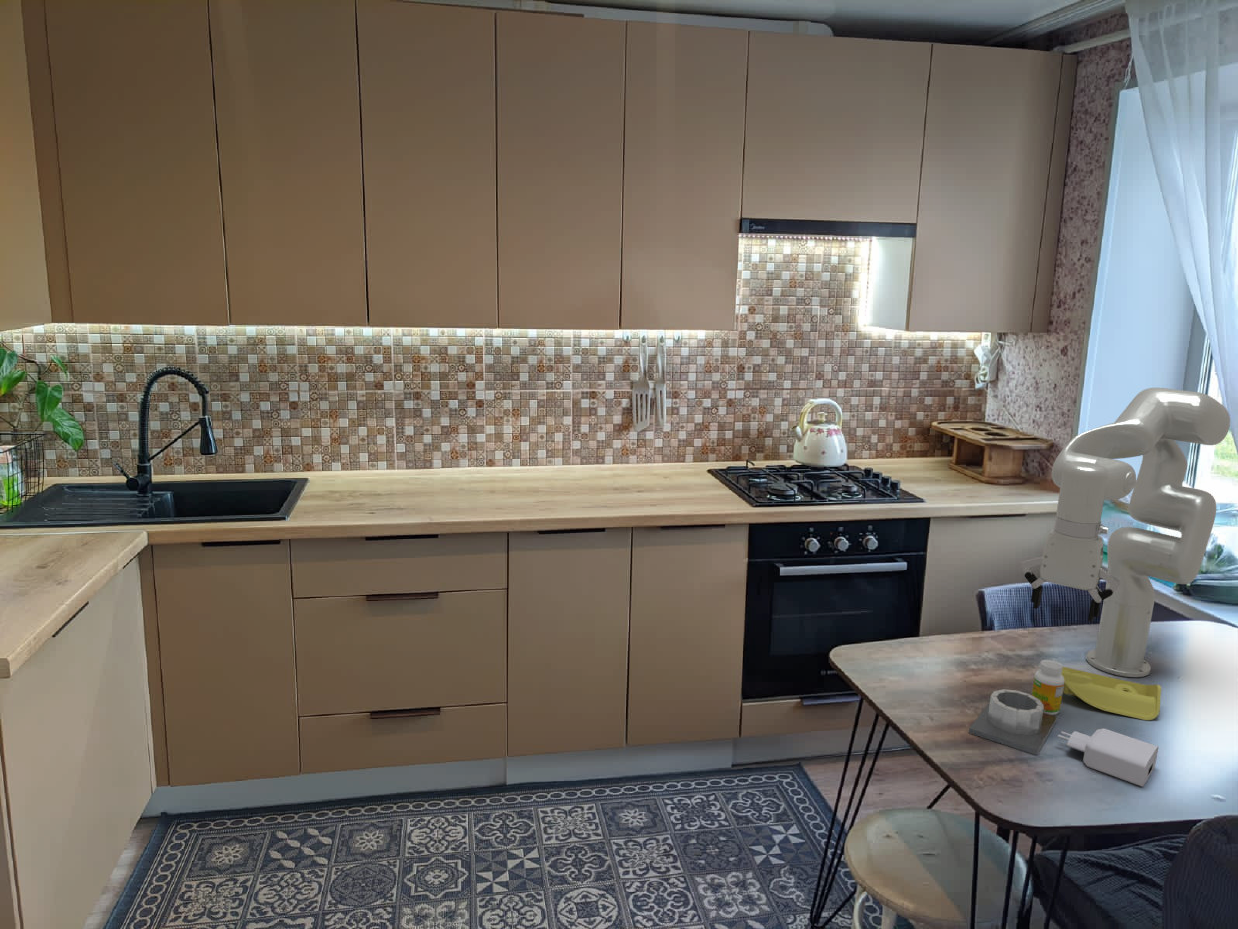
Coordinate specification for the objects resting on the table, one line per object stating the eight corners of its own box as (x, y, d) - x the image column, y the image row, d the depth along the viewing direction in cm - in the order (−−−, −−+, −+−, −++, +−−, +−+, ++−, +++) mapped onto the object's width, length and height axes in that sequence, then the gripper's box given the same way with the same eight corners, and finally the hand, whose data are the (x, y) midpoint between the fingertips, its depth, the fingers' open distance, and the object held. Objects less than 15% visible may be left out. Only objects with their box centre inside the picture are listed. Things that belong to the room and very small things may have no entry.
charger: (1065, 737, 170) (1155, 768, 160) (1049, 755, 163) (1141, 789, 153) (1069, 714, 168) (1159, 744, 159) (1053, 731, 162) (1146, 764, 152)
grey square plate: (992, 702, 182) (995, 676, 181) (1056, 721, 175) (1060, 695, 174) (968, 733, 169) (972, 706, 168) (1036, 755, 162) (1040, 727, 161)
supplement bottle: (1024, 706, 180) (1030, 661, 178) (1040, 700, 183) (1047, 656, 181) (1048, 718, 176) (1056, 672, 174) (1065, 711, 179) (1072, 666, 177)
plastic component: (1147, 685, 186) (1163, 685, 177) (1142, 721, 185) (1158, 723, 176) (1044, 663, 192) (1054, 661, 183) (1039, 697, 191) (1049, 698, 181)
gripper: (1131, 532, 167) (1116, 618, 171) (1031, 514, 177) (1020, 596, 181) (1125, 541, 161) (1110, 631, 165) (1023, 523, 171) (1011, 607, 175)
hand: (1063, 613), depth 173 cm, fingers open, 9 cm apart
